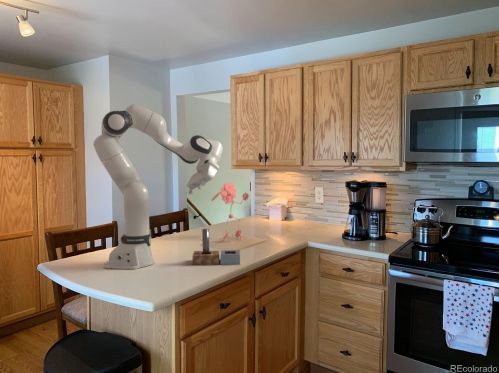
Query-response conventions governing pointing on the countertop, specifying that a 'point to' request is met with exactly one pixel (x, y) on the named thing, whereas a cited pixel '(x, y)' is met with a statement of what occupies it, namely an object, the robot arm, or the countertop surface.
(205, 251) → the steel axle
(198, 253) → the wooden square hole block
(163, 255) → the countertop surface
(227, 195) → the figurine
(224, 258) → the socket block
